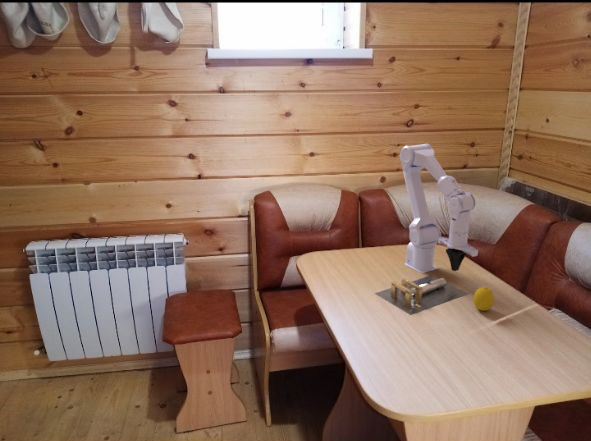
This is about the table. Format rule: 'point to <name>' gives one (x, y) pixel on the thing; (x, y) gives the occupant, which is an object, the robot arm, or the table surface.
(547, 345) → the table surface
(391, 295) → the plate
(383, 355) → the table surface
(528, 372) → the table surface
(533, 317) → the table surface
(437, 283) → the tube
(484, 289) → the lemon
